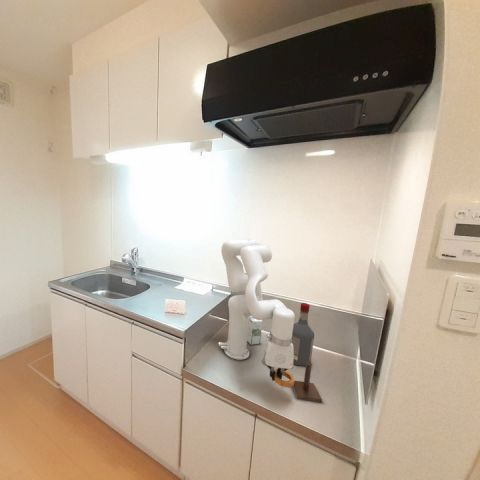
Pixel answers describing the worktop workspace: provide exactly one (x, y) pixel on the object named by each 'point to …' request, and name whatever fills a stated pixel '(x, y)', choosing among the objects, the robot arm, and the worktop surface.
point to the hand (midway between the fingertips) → (275, 378)
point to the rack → (306, 387)
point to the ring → (285, 383)
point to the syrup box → (254, 330)
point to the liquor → (302, 338)
